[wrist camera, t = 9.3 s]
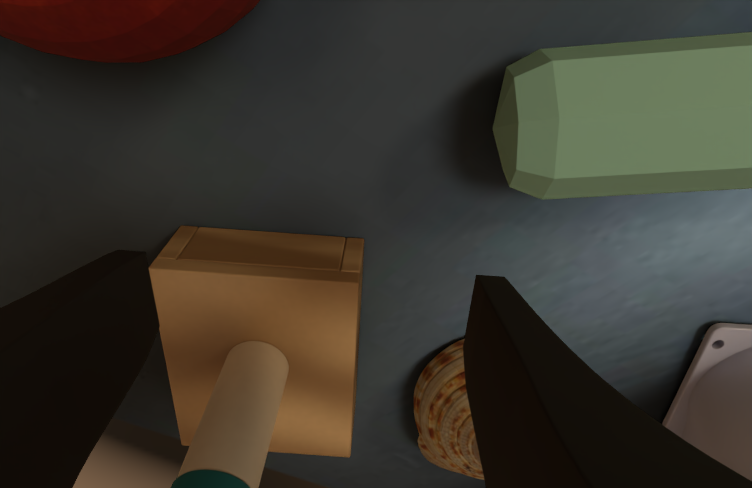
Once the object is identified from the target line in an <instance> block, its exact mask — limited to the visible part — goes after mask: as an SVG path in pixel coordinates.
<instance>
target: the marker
mask: <svg viewBox="0 0 752 488" xmlns="http://www.w3.org/2000/svg"><path fill="white" fill-rule="evenodd" d="M288 371H289V365H288V361H287V359H286V357H285V356H284V354H283V353H282V352H281V351H280V350H279V349H277V348H276V347H274V346H273V345H270V344H268V343H265V342H261V341H247V342H243V343H240V344H238V345H236V346H235V347H233V348H232V349H231V350H230V352H229V353H228V355H227V358H226V360H225V363H224V365H223V368H222V370H221V372H220V375H219V377H218V380H217V382H216V384H215V387H214V389H213V392H212V394H211V396H210V399H209V401H208V404H207V406H206V408H205V411H204V413H203V416H202V418H201V421H200V423H199V425H198V428H197V430H196V433H195V435H194V437H193V440H192V442H191V445H190V447H189V450H188V452H187V454H186V457H185V459H184V461H183V464H182V466H181V469H180V471H179V474H178V476H177V478H176V480H175V481H174V482H173V484H172V487H171V488H259V484H260V480H261V476H262V472H263V468H264V464H265V461H266V457H267V453H268V449H269V445H270V441H271V437H272V433H273V430H274V426H275V422H276V418H277V414H278V410H279V406H280V403H281V399H282V395H283V391H284V387H285V383H286V379H287V375H288Z"/></svg>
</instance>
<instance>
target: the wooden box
mask: <svg viewBox="0 0 752 488" xmlns="http://www.w3.org/2000/svg"><path fill="white" fill-rule="evenodd" d="M363 256H364V239H363V238H350V237H348V238H345V237H336V236H322V235H308V234H294V233H279V232H265V231H251V230H237V229H222V228H208V227H199V228H198V227H195V226H180V227H179V229H178V230H177V231H176V232H175V234H174V235H173V236H172V238H171V239H170V240H169V242H168V243H167V244H166V246H165V247H164V248H163V249H162V251H161V252H160V253H159V255H158V256H157V258H156V259H155V260H154V261H153V262H152V264H151V265H150V266H149V273H150V278H151V283H152V288H153V293H154V298H155V303H156V308H157V313H158V319H159V324H160V327H159V330H160V335H161V340H162V345H163V351H164V356H165V361H166V366H167V371H168V376H169V381H170V387H171V392H172V397H173V402H174V407H175V412H176V417H177V423H178V428H179V433H180V438H181V443H182V445H185V446H190V445H191V442H192V440H193V437H194V435H195V433H196V430H197V428H198V425H199V423H200V421H201V418H202V416H203V413H204V411H205V408H206V406H207V404H208V401H209V399H210V396H211V394H212V392H213V389H214V387H215V384H216V382H217V380H218V377H219V375H220V372H221V370H222V368H223V365H224V363H225V360H226V358H227V355H228V353H229V352H230V350H231V349H232V348H233V347H235V346H236V345H238V344H240V343H243V342H247V341H261V342H265V343H268V344H270V345H273V346H274V347H276V348H277V349H279V350H280V351H281V352H282V353H283V354H284V356H285V357H286V359H287V361H288V365H289V371H288V375H287V379H286V383H285V387H284V391H283V395H282V399H281V403H280V406H279V410H278V414H277V418H276V422H275V426H274V430H273V433H272V437H271V441H270V445H269V449H268V452H282V453H296V454H309V455H323V456H337V457H350V455H351V445H352V434H353V424H354V414H355V403H356V386H357V368H358V349H359V330H360V312H361V293H362V274H363Z"/></svg>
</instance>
